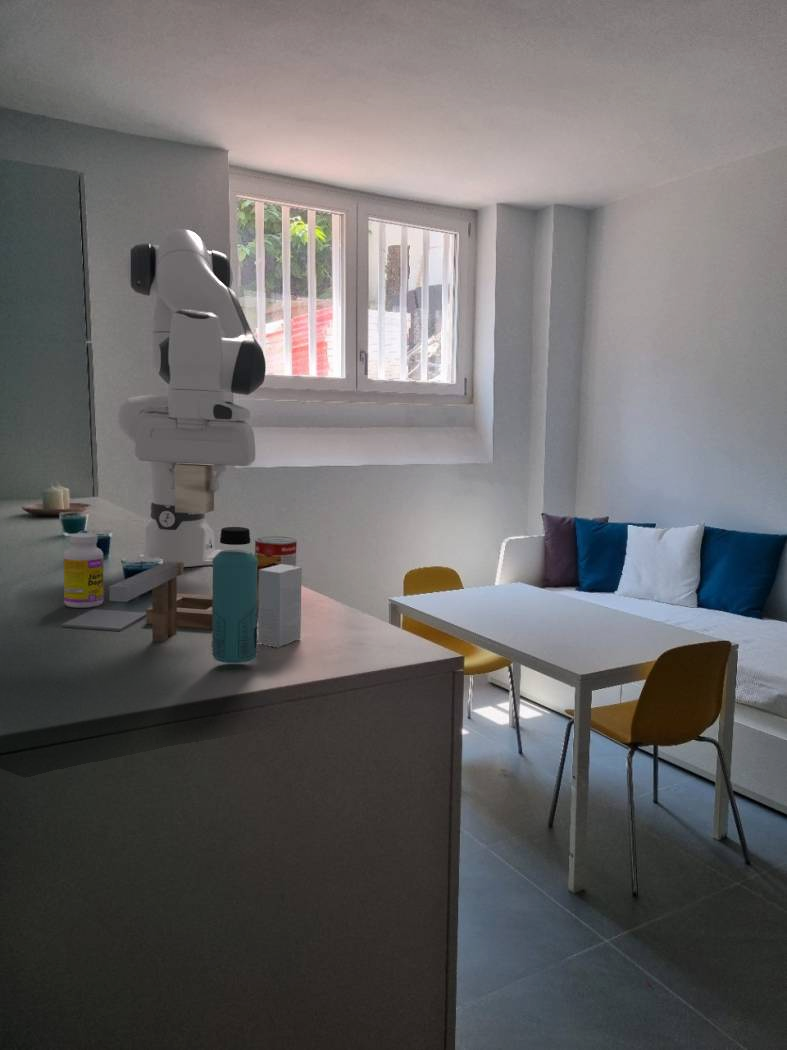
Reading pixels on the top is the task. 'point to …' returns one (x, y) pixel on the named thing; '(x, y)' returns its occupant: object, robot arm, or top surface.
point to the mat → (105, 620)
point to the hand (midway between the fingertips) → (195, 490)
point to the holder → (176, 611)
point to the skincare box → (279, 605)
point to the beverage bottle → (234, 600)
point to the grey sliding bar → (145, 581)
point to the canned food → (274, 552)
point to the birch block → (193, 488)
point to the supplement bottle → (83, 572)
